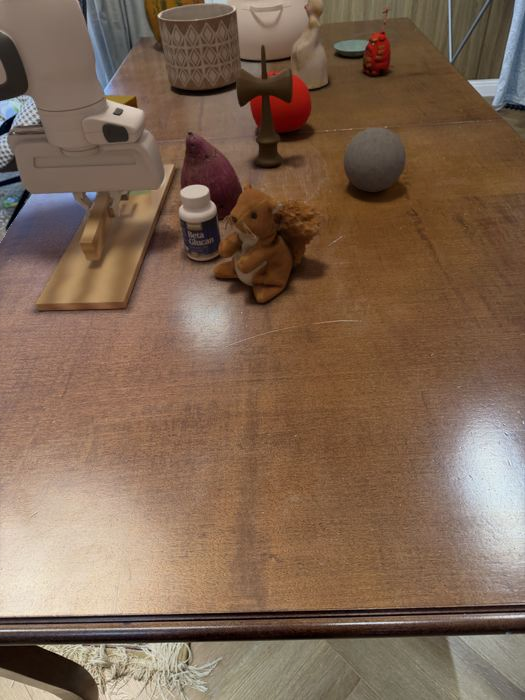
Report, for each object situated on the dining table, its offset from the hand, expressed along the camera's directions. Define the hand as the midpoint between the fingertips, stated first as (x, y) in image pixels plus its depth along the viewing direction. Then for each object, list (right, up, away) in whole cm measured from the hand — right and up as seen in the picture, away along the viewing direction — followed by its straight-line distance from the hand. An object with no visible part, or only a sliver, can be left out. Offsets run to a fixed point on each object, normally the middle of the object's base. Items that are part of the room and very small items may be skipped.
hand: (105, 216), depth 77 cm
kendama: (+25, +15, +20) cm, 35 cm away
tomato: (+28, +26, +31) cm, 49 cm away
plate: (+1, +9, +15) cm, 18 cm away
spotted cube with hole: (-6, +20, +28) cm, 35 cm away
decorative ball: (+43, +7, +10) cm, 44 cm away
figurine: (+36, +48, +53) cm, 80 cm away
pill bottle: (+15, -6, -1) cm, 16 cm away
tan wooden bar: (0, 0, +1) cm, 1 cm away
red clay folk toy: (+54, +53, +56) cm, 94 cm away
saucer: (+51, +66, +70) cm, 108 cm away
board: (+1, 0, +5) cm, 5 cm away
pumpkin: (-3, +79, +88) cm, 118 cm away
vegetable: (+16, +4, +9) cm, 18 cm away
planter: (+9, +50, +58) cm, 77 cm away
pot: (+26, +71, +77) cm, 108 cm away
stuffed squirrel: (+25, -10, -6) cm, 28 cm away
